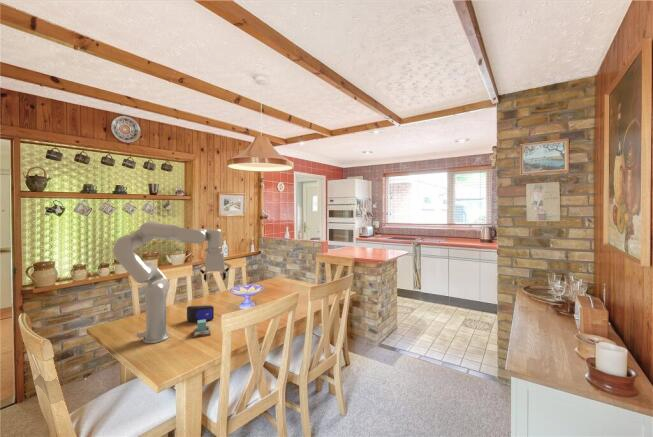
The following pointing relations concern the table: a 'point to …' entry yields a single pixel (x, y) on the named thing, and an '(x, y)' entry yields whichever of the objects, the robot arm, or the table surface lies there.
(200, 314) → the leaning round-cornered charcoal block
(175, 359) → the table surface
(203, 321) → the teal block
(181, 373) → the table surface
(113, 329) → the table surface
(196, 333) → the block cradle
